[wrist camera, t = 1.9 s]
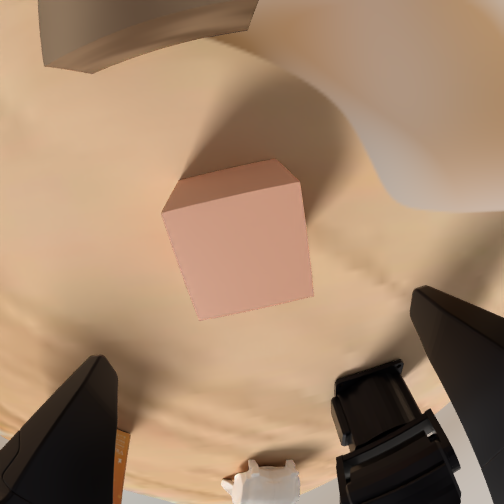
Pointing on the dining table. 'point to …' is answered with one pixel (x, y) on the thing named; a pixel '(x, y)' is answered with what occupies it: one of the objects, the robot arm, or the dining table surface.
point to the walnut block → (130, 28)
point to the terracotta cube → (240, 238)
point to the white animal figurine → (265, 485)
